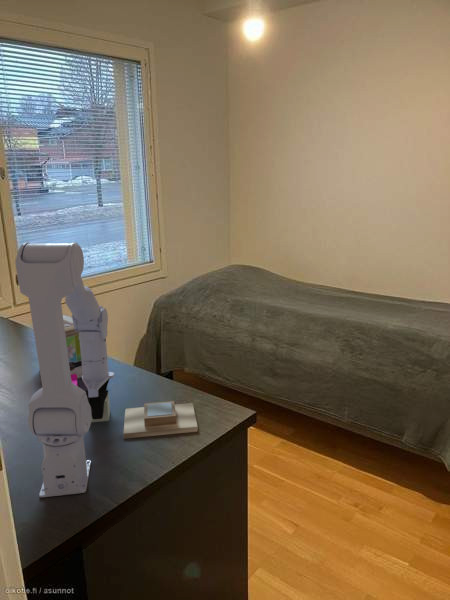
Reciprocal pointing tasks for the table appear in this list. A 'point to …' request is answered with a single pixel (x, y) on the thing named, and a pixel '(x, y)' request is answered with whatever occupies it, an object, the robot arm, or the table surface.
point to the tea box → (73, 346)
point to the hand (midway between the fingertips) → (99, 411)
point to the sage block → (106, 411)
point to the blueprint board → (143, 431)
